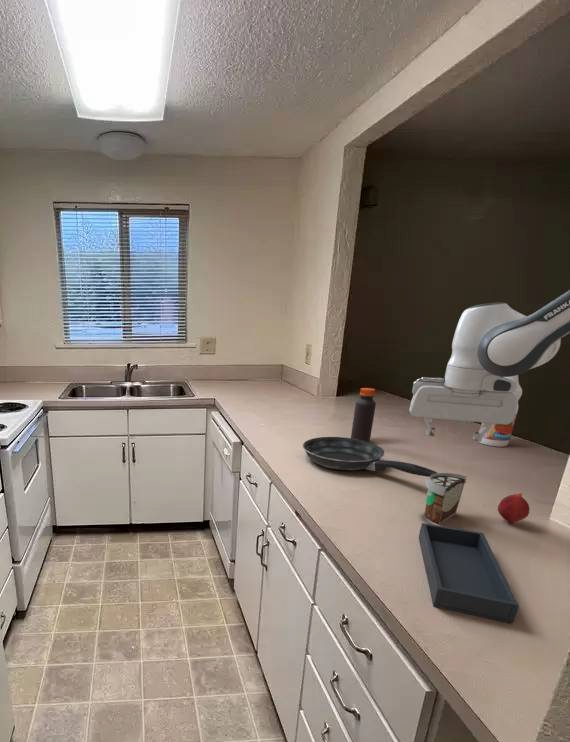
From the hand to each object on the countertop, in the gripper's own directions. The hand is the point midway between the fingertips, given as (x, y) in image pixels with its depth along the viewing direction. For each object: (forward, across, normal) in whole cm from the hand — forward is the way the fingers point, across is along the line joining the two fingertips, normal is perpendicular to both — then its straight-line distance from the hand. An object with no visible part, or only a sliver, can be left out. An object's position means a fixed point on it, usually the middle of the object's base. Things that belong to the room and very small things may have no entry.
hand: (452, 438), depth 102 cm
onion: (+20, +16, +2) cm, 26 cm away
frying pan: (+21, -18, +27) cm, 38 cm away
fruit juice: (+20, +27, +72) cm, 79 cm away
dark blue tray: (+20, +1, -27) cm, 34 cm away
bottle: (+21, -18, +57) cm, 63 cm away
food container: (+20, 0, 0) cm, 20 cm away
